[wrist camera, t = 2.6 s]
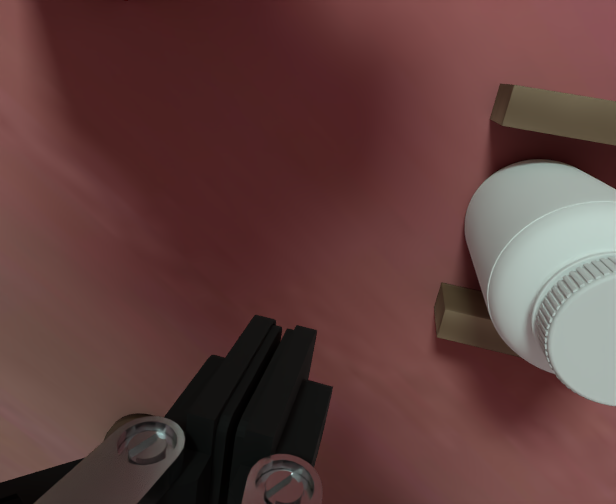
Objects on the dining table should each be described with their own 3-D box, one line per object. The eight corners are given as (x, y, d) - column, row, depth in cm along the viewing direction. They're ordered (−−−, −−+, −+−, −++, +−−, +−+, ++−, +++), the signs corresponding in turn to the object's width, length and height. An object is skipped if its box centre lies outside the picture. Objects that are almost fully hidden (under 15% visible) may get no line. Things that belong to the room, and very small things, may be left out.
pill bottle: (564, 129, 27) (724, 185, 13) (620, 242, 28) (817, 398, 15) (439, 197, 30) (463, 301, 16) (496, 296, 31) (563, 470, 17)
